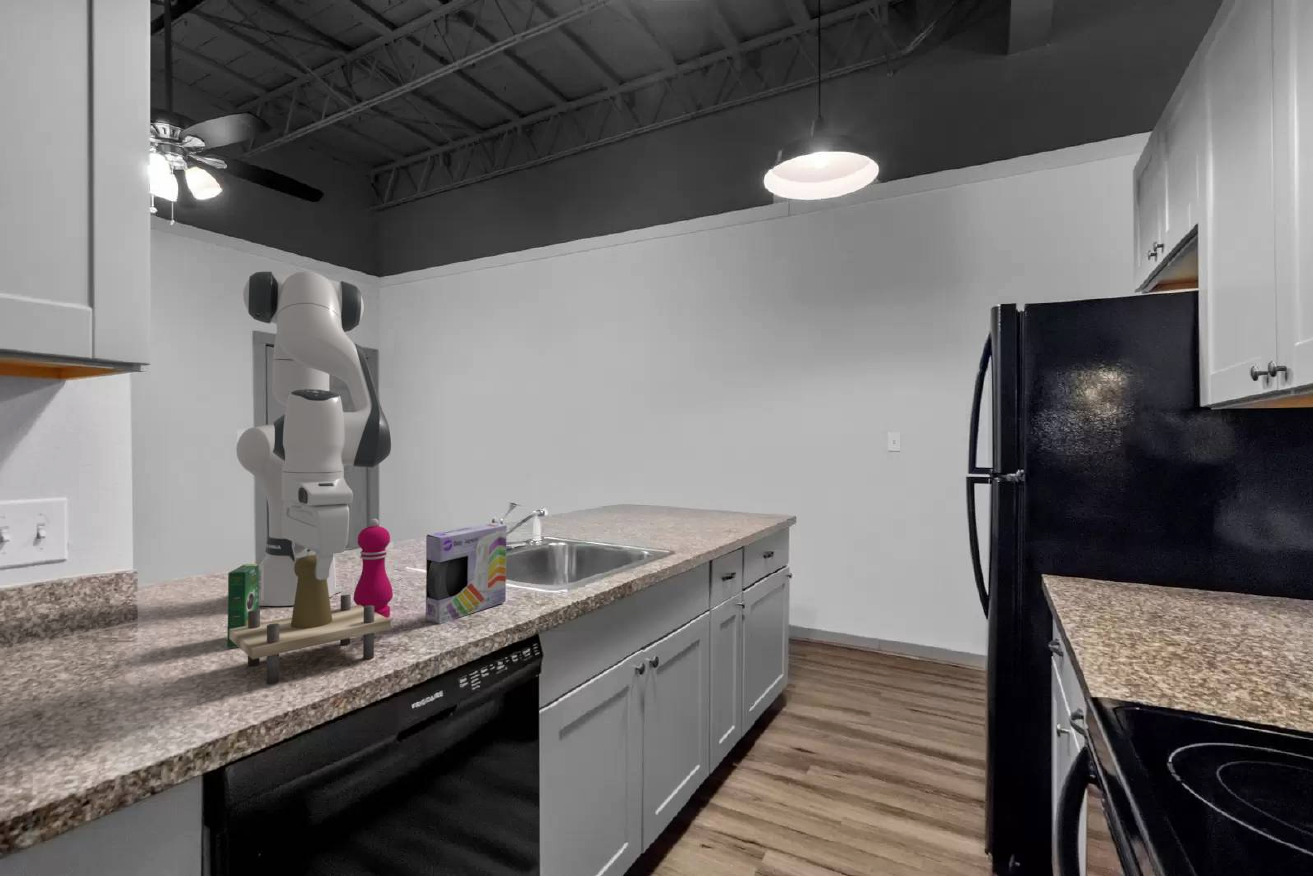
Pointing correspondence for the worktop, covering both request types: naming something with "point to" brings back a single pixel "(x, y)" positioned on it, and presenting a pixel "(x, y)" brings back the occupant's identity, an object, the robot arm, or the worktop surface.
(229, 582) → the coffee box
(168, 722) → the worktop surface
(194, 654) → the worktop surface
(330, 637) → the spice riser
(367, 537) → the pepper mill
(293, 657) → the worktop surface
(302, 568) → the cork
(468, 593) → the cake pan box
